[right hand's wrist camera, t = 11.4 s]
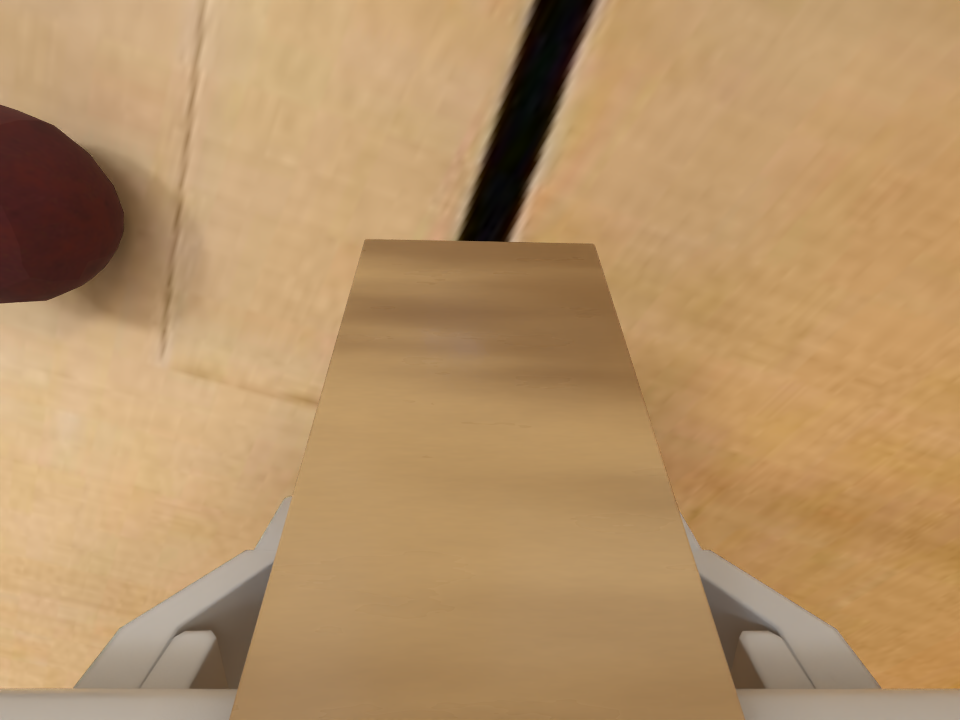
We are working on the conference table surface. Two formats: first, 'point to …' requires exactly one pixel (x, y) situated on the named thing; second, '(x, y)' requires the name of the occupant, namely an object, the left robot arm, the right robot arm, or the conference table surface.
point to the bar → (483, 511)
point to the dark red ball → (51, 211)
